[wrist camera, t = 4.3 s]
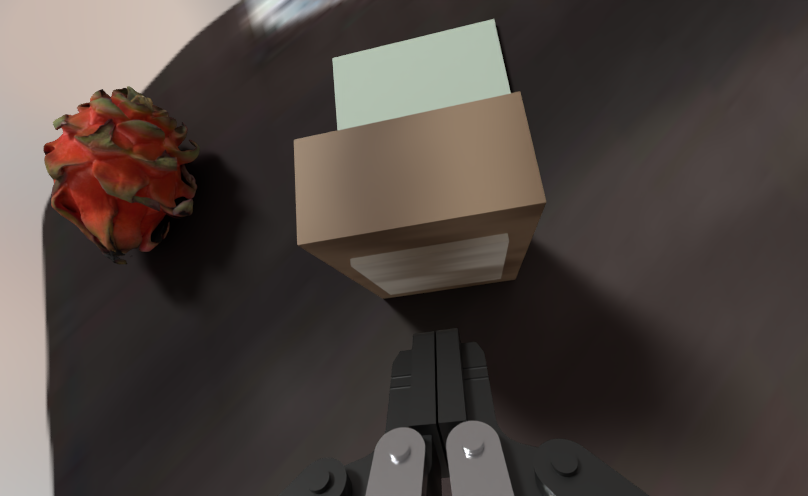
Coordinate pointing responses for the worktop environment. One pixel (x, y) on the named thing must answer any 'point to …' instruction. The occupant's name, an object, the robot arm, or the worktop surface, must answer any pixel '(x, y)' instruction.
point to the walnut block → (422, 197)
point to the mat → (419, 75)
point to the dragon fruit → (120, 171)
